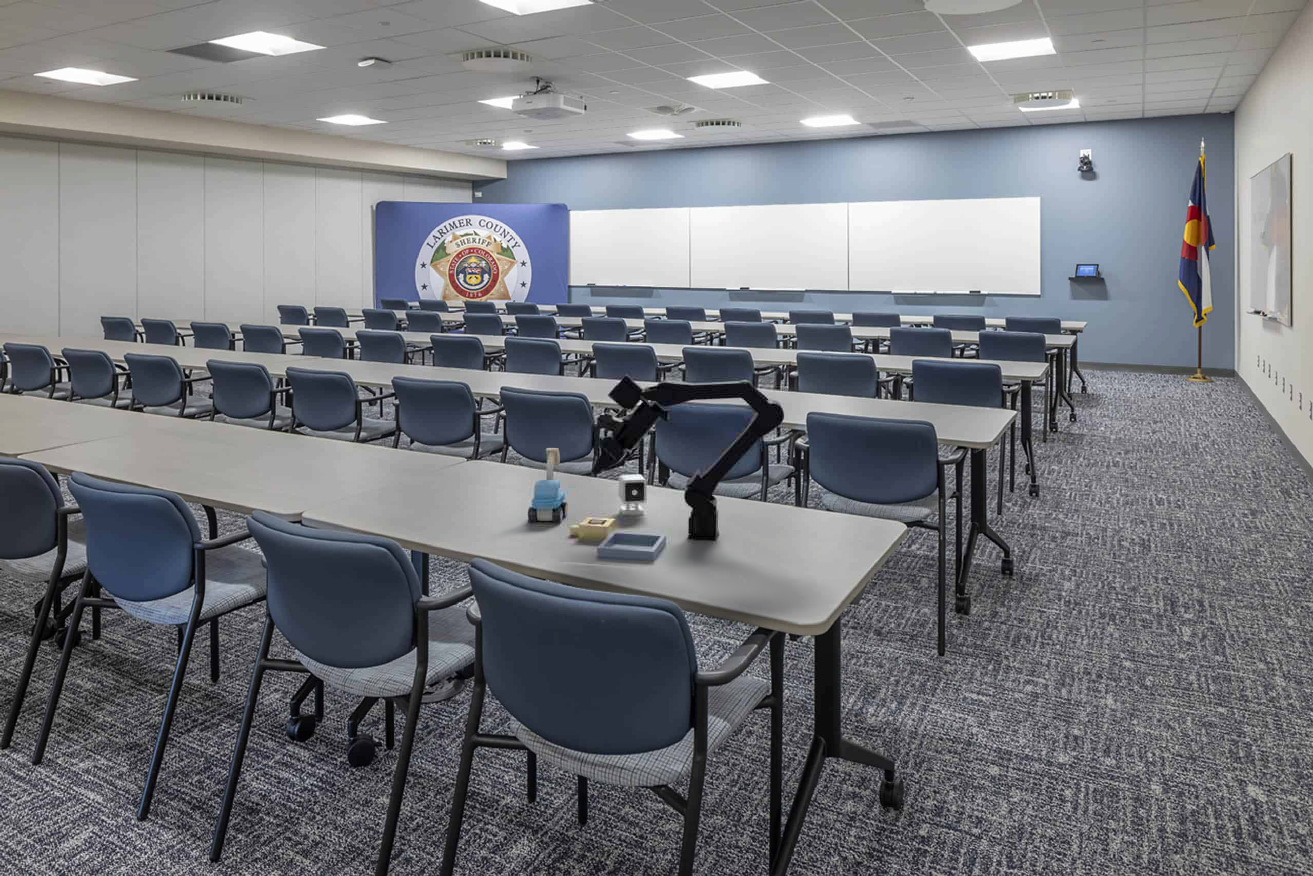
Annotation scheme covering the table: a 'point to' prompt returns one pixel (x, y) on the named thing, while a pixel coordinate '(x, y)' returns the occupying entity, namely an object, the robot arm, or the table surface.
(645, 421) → the robot arm
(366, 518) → the table surface
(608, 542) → the tray
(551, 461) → the toy excavator
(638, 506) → the security camera
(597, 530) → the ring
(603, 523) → the grey peg base
